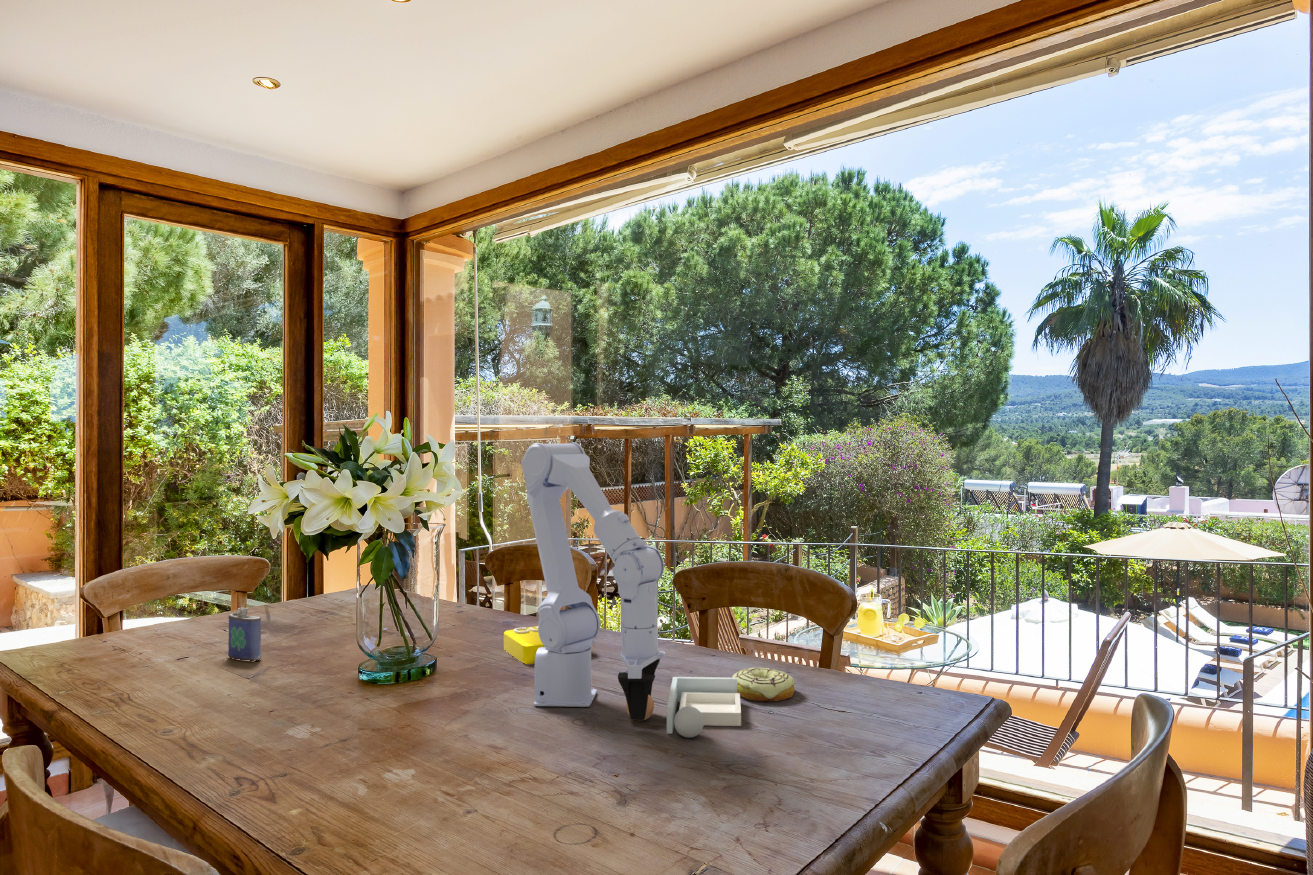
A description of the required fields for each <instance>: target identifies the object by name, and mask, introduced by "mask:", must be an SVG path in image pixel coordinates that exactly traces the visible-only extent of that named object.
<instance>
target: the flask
mask: <svg viewBox="0 0 1313 875" xmlns="http://www.w3.org/2000/svg"><path fill="white" fill-rule="evenodd" d="M248 611H249V607H238V608H237V612H233V613H230V614H228V640H227V641H228V645H227V646H228V652H227V657H228V656H229V657H230V658H234V659H240V660H250V661H254V660H257V661H258V660H259V661H260V659H261V660H262V625H261V624H262V623H261V622H262V617H261V616H256V615H248Z"/></svg>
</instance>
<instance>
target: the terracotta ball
mask: <svg viewBox="0 0 1313 875" xmlns="http://www.w3.org/2000/svg"><path fill="white" fill-rule="evenodd" d="M625 707H626V712H627V714H628V716H629V717H630V715H629V710H628V705H627V703H626V706H625ZM654 710H655V703H654V700H653V697H652V695H651V696H650V695H648V702H647V710H646V715H645V719H644V720H636V721H638V722H643V721H646V720H648V719H649V718H650V717H651V716H652V715H653V714H654Z"/></svg>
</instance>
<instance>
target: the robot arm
mask: <svg viewBox="0 0 1313 875" xmlns="http://www.w3.org/2000/svg"><path fill="white" fill-rule="evenodd" d="M525 451H526V452H525V453H524V455H523V457H522V460H521V461H520V463H521V467H522V473H523V478H524V484H525V486H526V497H527V501H528V503H527V504H528V507H529V512H530V517H531V521H532V526H533V531H534V536H535V541H536V544H537V545H536V546H537V550H538V554H539V559H540V560H539V561H540V565H541V570H542V575H543V578H544V583H545V589H546V593H547V594H546V596H545V598H544V599H543V600H542V602H541V603H540V604H539V605H538V607H537V614H538V625H537V626H538V633H539V637H540V640H541V642H542V644H543V645H544V646H545V647H541V648H538V650H537V652H536V656H535V665H533V666H534V669H533V670H534V673H533V674H534V677H533V678H534V702H533V706H534V707H569V708H570V707H572V708H573V707H579V708H582V707H583V708H585V707H586V708H587V707H588V708H589V707H591V705H592V703H593V701H594V699H595V697H596V695H597V692H598V690H597V689H596V688H592V646H593V645H594V644H595V643H594V642H595V639H596V638H597V637H598V636H599V634H600V631H601V619H600V618H601V617H600V614H599V613H598V611H597V609H596V608H595V606H594V604H593V600H592V597H591V595H590V594H589V593H587V591H585V590H583V589H582V588H581V587H579V582H578V579H577V574H576V568H575V564H574V561H573V560H574V559H573V555H572V552H571V546H570V541H569V538H568V537H569V536H568V532H567V528H566V524H565V523H566V522H565V519H564V515H563V514H564V513H563V509H562V505H561V498H562V497H563V495H564V493H565V492H566V491H568V489H570V490H571V492H572V493H573V494H574V496H575V497H576V498H577V499H578V501H579V503H580V504H581V505H582V506H583V507H584V508H585V510H586V511H587V512H588V514H589V515H590V516H591V517H592V520H594V525H593V532H594V534H595V536H596V537H597V539H598V540H599V542H600V544H601V545H602V548H604V550H605V551H606V553H607V554H608V556H609V557H610V559H611V561H612V563H613V564H614V566H613V567H612V568H611V571H612V576H613V579H614V580H615V582H616V584H617V589H618V590H617V594H619V598H620V621H621V622H620V625H621V626H620V632H621V635H620V637H621V652H620V654H619V657H620V660H621V661H622V662H623V663H624V664H625V666H626V667H627V672H621V671H620V672H619V673H618V675H617V680H618V683H619V684H620V686H621V689H622V691H623V692H624V695H625V699H626V704H627V705H628V710H629V714H628V716H629V715H630V716H629V718H630V720H631V721H637V720H643V721H645V720H644V719H645V715H646V710H647V702H648V695H650V696H651V697H652V691H653V690H652V689H653V683H654V681H655V678H656V675H655V674H656V673H655V672H656V670H657V667H658V666H659V663H660V661H661V660H662V659H665V658H666V651H664V650H659V649H658V648H659V646H658V586H657V585H658V584H657V582H658V581H659V580H660V579H661V578H662V577H663V574H664V571H665V562H664V559H663V556H662V554H661V552H660V549H658V548H656V547H654V546H652V545H649V544H648V543H647V542H645V541H644V540H643V539H642V538H641V536H640V535H639V534H638V532H637V531H636V529H635V528H634V526H633V525H632V523H631V522H630V517H629V516H628V514H627V513H624V512H623V511H621V510H618V509H617V510H615V509H613V507H612V506H611V504H610V503H609V500H608V499H607V497H606V496H605V494H604V492H603V490H602V488H601V487H600V485H599V483H598V481H597V479H596V478H595V476H594V474H593V473H592V471H591V469H590V464H591V460H590V459H591V458H590V457H589V456H588V455H587V454H586V452H585V449H584V448H583V447H582V446H581V445H580V444H579V443H578V442H568V443H566V442H565V443H542V442H541V443H540V442H535V443H532V444H531V445H529V447H528V448H527V449H526V450H525ZM564 607H568V608H564ZM562 608H564V609H562Z"/></svg>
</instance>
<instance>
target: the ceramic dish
mask: <svg viewBox="0 0 1313 875" xmlns="http://www.w3.org/2000/svg"><path fill="white" fill-rule="evenodd" d="M686 706H692V707H695V708H697V709H698V710H699V711H700V712H701V714H702V716H703V719H704V725H703V726H716V727H717V726H722V727H723V726H724V727H726V726H727V727H730V726H732V727H741V726H742V709H741V708H742V707H741V706H742V705H741V696H740V693H715V692H682V695H681V701H680V702H679V707H678V708H679V709H678V711H679V710H680V709H681V708H683V707H686Z"/></svg>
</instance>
